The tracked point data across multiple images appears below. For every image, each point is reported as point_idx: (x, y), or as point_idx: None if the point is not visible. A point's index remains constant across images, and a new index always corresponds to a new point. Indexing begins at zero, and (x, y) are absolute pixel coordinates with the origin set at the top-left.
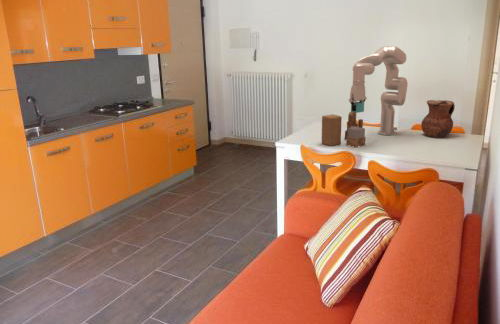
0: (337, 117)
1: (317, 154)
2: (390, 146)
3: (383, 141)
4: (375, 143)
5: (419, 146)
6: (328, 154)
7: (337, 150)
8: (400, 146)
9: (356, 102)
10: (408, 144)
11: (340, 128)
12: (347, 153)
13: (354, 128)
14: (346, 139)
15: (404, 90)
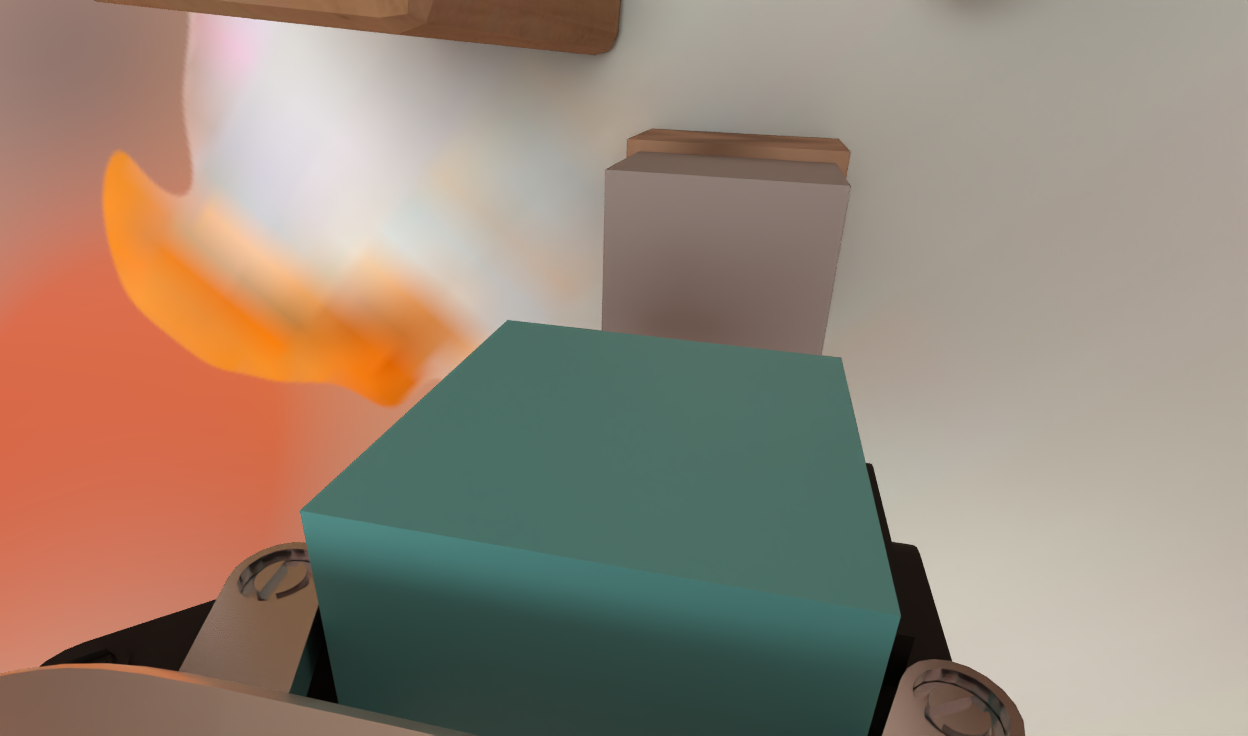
0: (267, 9)
1: (152, 204)
2: (970, 539)
3: (1180, 365)
4: (991, 351)
5: (1177, 732)
6: (244, 280)
7: (398, 240)
8: (1044, 608)
9: (588, 687)
10: (1203, 634)
11: (511, 45)
12: (414, 383)
13: (678, 276)
14: (636, 135)
15: None
